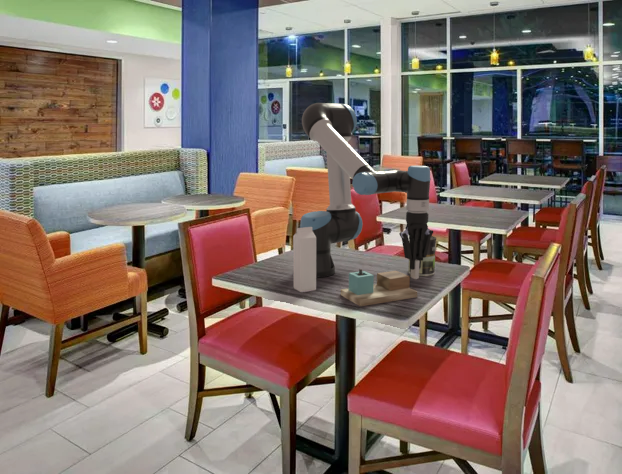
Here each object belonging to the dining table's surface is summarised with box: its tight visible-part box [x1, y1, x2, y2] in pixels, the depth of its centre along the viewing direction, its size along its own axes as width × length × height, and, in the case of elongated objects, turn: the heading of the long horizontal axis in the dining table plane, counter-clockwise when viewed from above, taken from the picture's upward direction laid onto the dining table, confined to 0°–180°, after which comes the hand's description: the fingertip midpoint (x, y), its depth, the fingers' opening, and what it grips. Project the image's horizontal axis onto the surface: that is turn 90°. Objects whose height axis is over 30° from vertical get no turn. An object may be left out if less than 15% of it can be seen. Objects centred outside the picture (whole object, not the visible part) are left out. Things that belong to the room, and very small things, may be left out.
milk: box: [292, 227, 317, 293], centre depth 189 cm, size 6×6×22 cm
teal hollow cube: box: [348, 270, 375, 295], centre depth 181 cm, size 6×6×6 cm
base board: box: [340, 268, 418, 307], centre depth 182 cm, size 13×22×10 cm, turn 116°
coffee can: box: [407, 235, 437, 277], centre depth 211 cm, size 10×10×14 cm
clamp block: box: [376, 270, 411, 290], centre depth 187 cm, size 8×8×4 cm
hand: (414, 277), depth 191 cm, fingers closed
